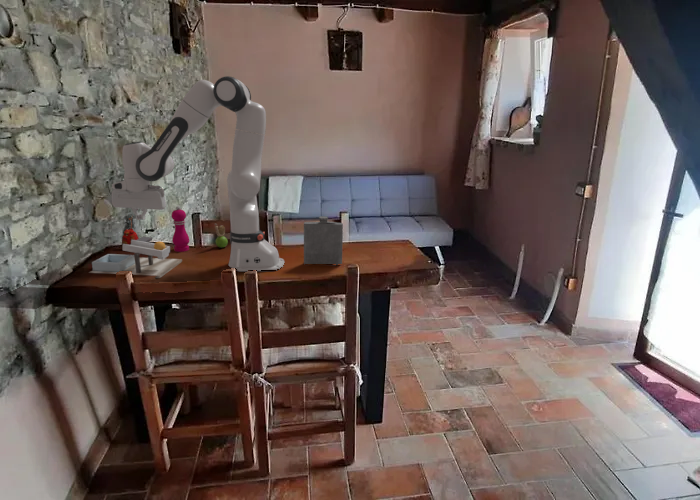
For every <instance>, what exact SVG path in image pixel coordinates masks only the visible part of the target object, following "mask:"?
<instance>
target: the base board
mask: <svg viewBox="0 0 700 500" xmlns="http://www.w3.org/2000/svg"><path fill="white" fill-rule="evenodd" d="M133 255H134V259H135V264H133V265H132V266H130V267H128V268H127V269H125V270H123V271H132V274H133V275H136V276H152V277H153V276H155V277H154V278H155V279H161V278H163V276H164V275H166V274H167V273H169V272H170V271H171V270H173V269H174V268H175V267H177V266H178V265H179V264H181V263H182V262H183V258H165V259H163V260H162V259H158V257H154V256H151V255H147V257H140V255H139V253H134V254H133ZM88 273H89V274H108V275H110V274H112V275H113V274H115V275H117V274H116V273H117V272H102V271H93V269H92V270H91V271H89V272H88Z"/></svg>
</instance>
